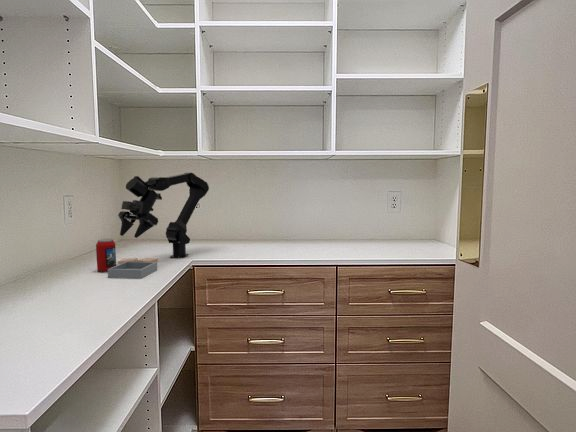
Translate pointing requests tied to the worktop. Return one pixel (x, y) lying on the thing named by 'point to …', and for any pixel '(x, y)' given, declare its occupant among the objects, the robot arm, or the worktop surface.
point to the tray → (132, 270)
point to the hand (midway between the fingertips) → (128, 236)
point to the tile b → (148, 260)
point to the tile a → (127, 260)
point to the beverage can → (105, 254)
